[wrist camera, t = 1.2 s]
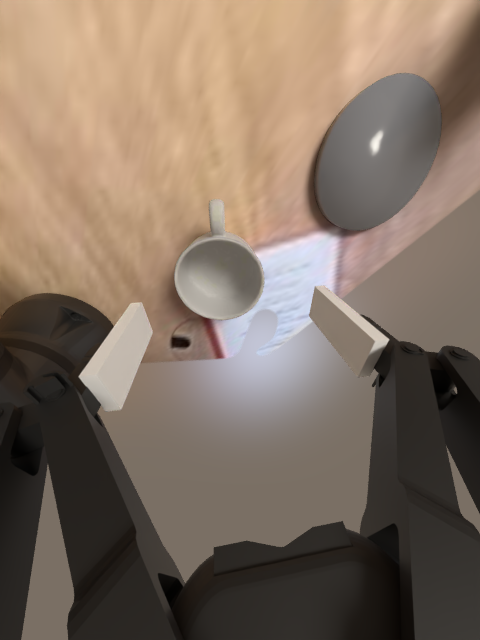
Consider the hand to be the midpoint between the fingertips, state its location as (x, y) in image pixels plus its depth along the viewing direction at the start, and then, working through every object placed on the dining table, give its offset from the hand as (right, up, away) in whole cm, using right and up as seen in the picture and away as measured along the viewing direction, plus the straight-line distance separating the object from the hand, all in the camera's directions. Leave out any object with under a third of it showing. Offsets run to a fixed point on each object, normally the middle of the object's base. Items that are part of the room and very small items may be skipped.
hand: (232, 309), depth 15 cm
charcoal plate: (+17, +19, +10) cm, 27 cm away
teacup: (-2, +9, +14) cm, 17 cm away
